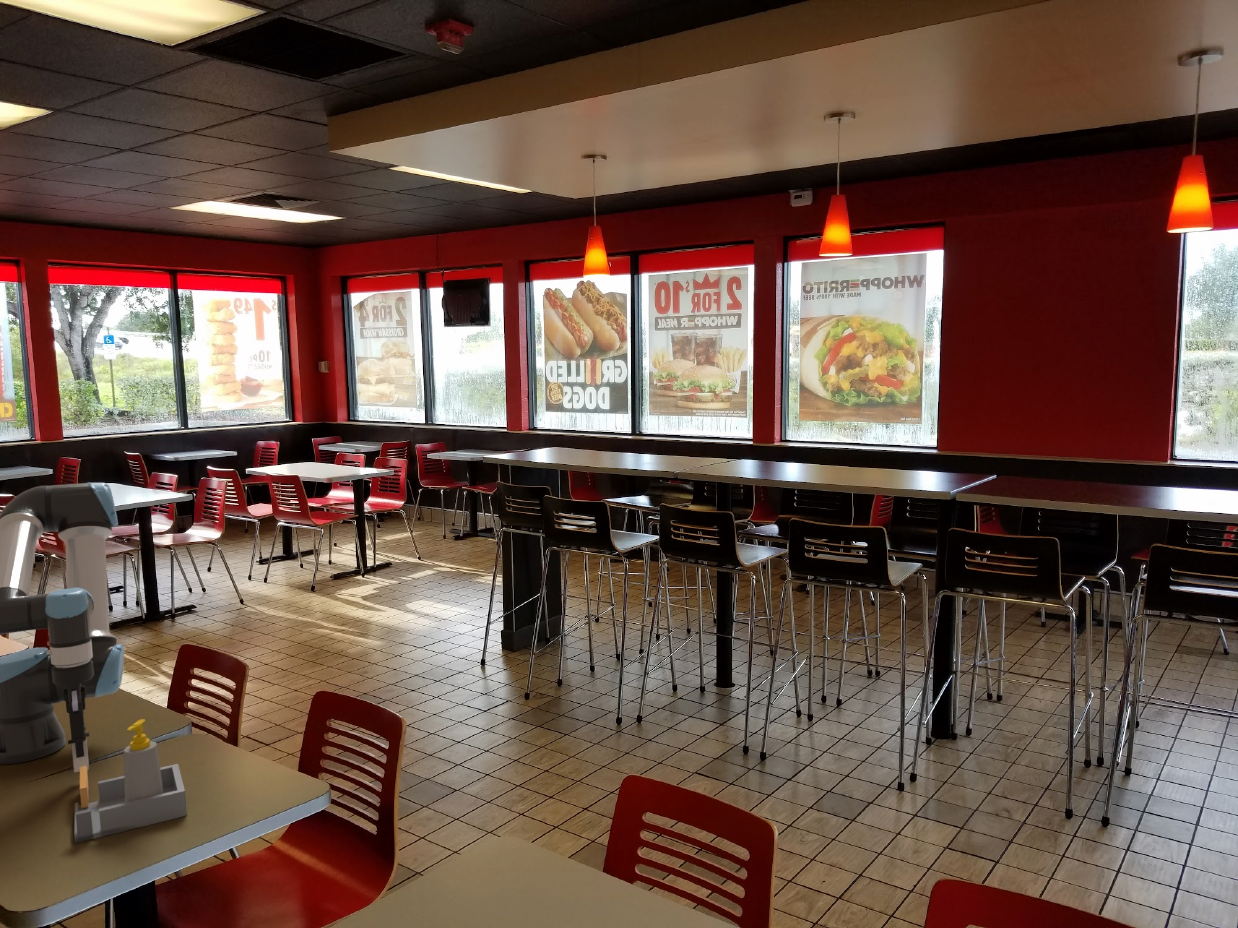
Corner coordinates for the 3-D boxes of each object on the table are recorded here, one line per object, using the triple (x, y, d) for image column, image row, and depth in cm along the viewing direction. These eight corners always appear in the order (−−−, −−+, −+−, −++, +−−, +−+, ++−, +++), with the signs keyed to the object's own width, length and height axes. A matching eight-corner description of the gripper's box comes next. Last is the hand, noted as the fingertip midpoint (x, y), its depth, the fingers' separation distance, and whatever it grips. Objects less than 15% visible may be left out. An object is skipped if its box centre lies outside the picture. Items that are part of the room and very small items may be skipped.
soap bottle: (117, 819, 169) (110, 729, 168) (137, 802, 176) (130, 715, 175) (153, 818, 169) (146, 728, 168) (171, 801, 176) (164, 714, 175)
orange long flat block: (81, 785, 184) (79, 766, 184) (88, 783, 185) (86, 765, 184) (81, 808, 174) (79, 788, 174) (88, 806, 175) (86, 787, 174)
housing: (75, 810, 176) (73, 784, 175) (179, 786, 185) (177, 761, 185) (75, 843, 163) (72, 815, 162) (186, 815, 173) (184, 788, 172)
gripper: (52, 658, 190) (61, 763, 192) (50, 674, 179) (60, 785, 181) (92, 651, 194) (101, 754, 196) (92, 667, 183) (102, 776, 185)
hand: (81, 769), depth 189 cm, fingers closed
